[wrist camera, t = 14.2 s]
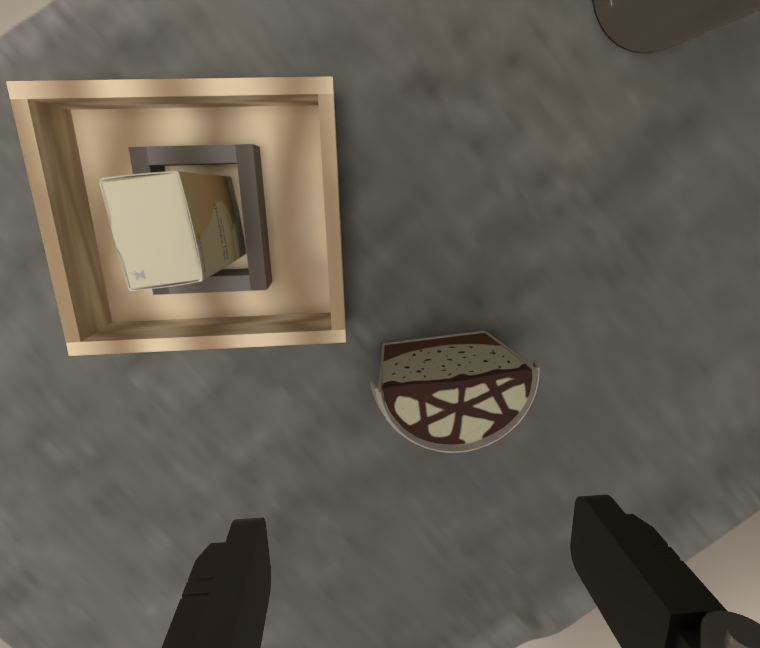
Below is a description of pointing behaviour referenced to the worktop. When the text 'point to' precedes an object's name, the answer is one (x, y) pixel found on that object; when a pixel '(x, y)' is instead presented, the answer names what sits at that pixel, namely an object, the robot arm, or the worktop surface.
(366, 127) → the worktop surface
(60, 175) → the walled box
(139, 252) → the skincare box
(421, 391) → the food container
